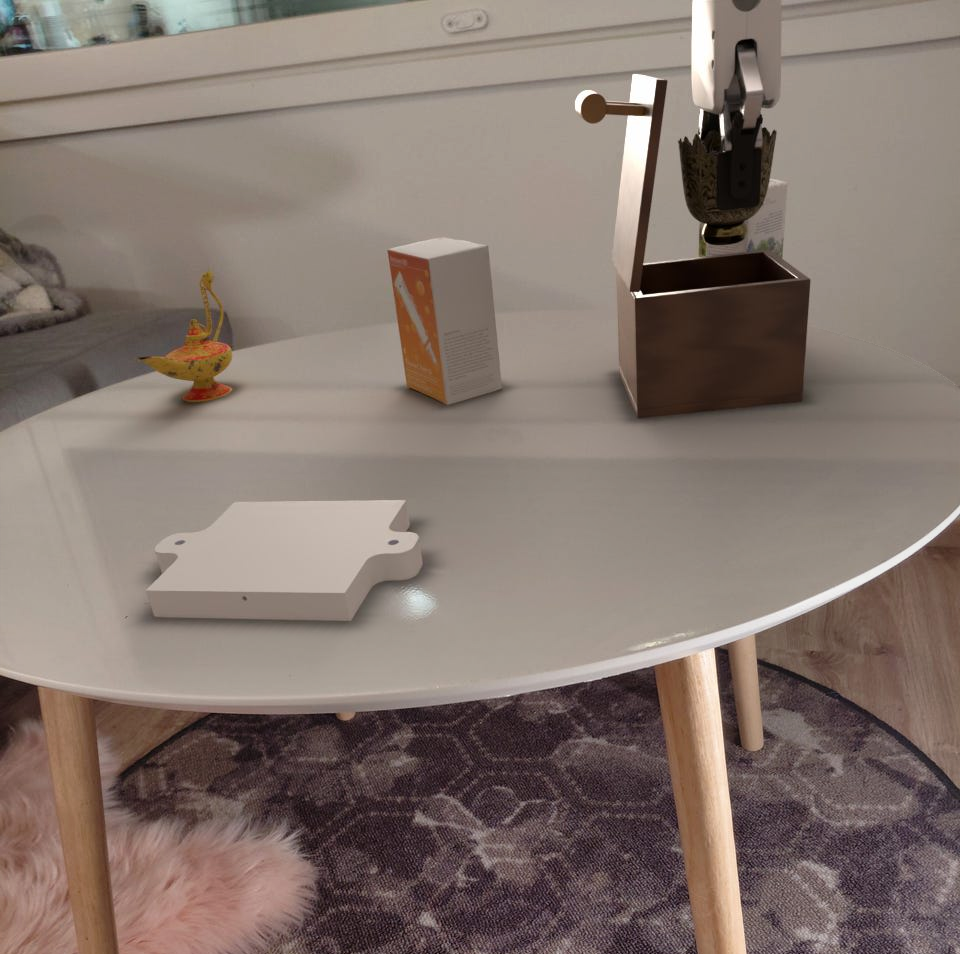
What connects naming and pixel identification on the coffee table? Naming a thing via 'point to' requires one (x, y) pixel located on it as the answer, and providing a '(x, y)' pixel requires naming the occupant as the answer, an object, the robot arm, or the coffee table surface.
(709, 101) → the robot arm
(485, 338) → the small box
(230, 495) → the coffee table surface
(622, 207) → the lid
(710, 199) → the cup
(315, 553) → the mounting plate
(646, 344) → the compartment
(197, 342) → the magic lamp
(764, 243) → the syrup box
